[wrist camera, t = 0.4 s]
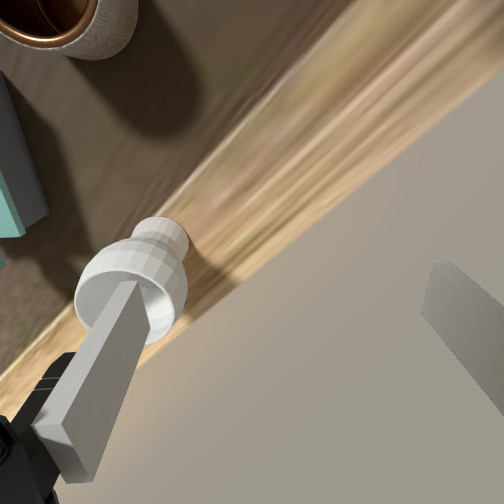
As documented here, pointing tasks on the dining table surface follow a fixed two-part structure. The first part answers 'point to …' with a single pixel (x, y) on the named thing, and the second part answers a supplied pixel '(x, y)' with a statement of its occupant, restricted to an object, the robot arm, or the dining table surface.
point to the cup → (139, 275)
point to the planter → (70, 25)
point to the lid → (8, 217)
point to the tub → (19, 164)
